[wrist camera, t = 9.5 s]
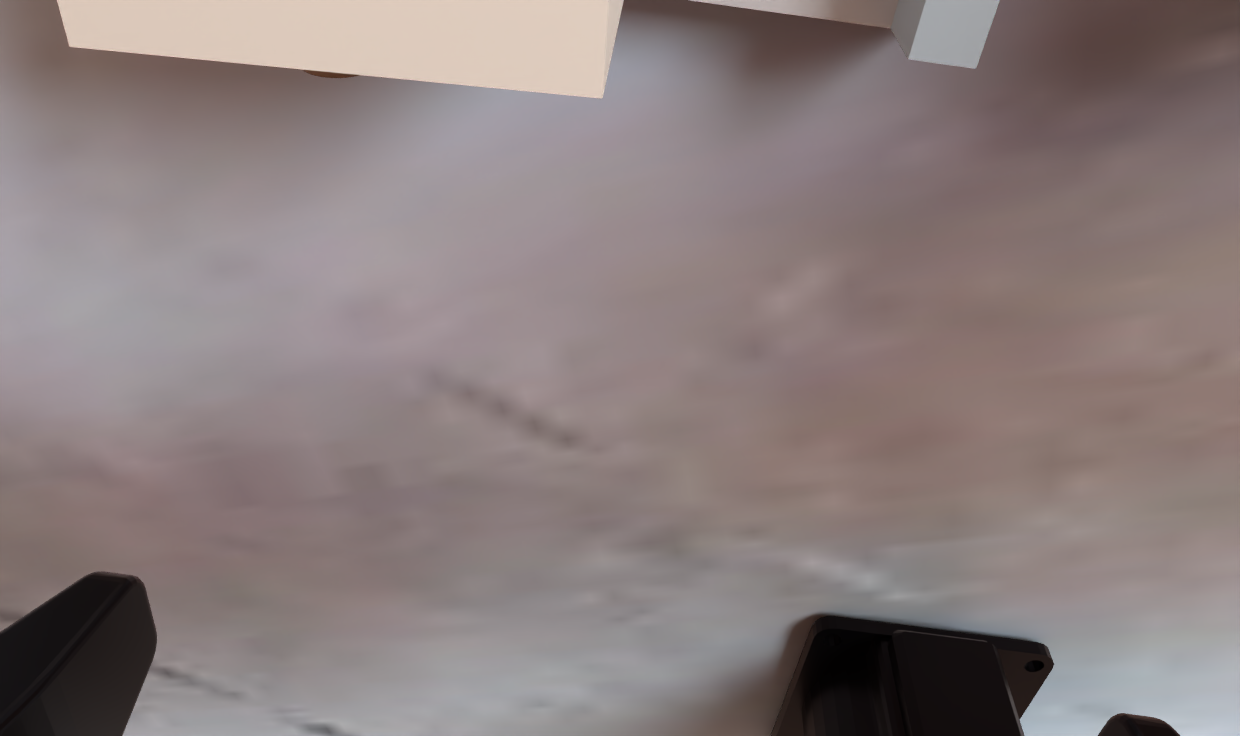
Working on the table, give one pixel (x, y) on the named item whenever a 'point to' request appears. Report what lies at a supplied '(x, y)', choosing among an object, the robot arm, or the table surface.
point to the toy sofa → (903, 23)
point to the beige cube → (371, 37)
